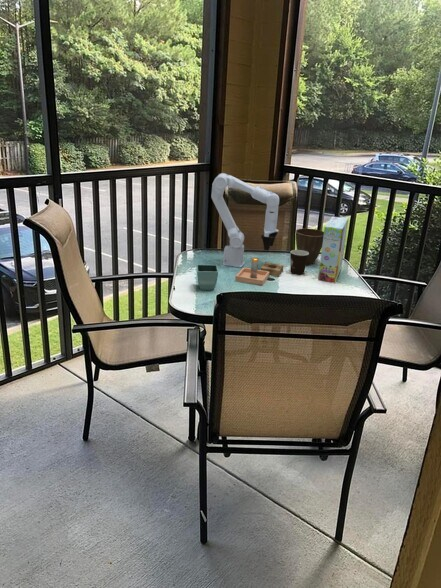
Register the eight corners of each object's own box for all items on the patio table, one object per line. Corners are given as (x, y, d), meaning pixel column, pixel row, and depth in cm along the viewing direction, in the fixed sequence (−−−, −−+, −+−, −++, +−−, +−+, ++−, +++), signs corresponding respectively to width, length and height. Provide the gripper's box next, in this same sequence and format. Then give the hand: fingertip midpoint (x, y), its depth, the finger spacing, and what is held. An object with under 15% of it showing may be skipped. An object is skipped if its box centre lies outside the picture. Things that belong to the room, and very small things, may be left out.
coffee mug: (305, 276, 215) (308, 256, 211) (287, 274, 216) (289, 254, 212) (306, 268, 225) (309, 249, 221) (289, 266, 227) (291, 247, 223)
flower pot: (195, 283, 199) (196, 264, 196) (215, 284, 200) (217, 264, 197) (196, 291, 191) (197, 271, 188) (217, 291, 192) (218, 271, 189)
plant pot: (295, 256, 243) (299, 226, 237) (323, 260, 238) (328, 230, 232) (289, 264, 230) (292, 233, 224) (318, 269, 225) (323, 237, 219)
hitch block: (260, 273, 215) (260, 267, 214) (264, 268, 223) (265, 262, 222) (278, 276, 213) (279, 270, 211) (282, 270, 220) (283, 265, 219)
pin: (249, 278, 207) (251, 259, 204) (250, 276, 210) (252, 257, 206) (256, 279, 207) (258, 260, 203) (257, 276, 209) (258, 258, 206)
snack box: (324, 266, 230) (331, 215, 220) (341, 269, 227) (350, 218, 217) (316, 280, 211) (324, 225, 201) (335, 283, 209) (344, 228, 199)
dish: (235, 280, 205) (235, 275, 204) (243, 272, 216) (243, 267, 215) (262, 285, 201) (262, 280, 200) (269, 276, 212) (269, 271, 211)
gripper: (276, 224, 208) (273, 253, 213) (282, 217, 220) (279, 245, 226) (260, 222, 210) (258, 250, 215) (268, 216, 222) (265, 243, 228)
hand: (268, 247), depth 220 cm, fingers open, 7 cm apart
